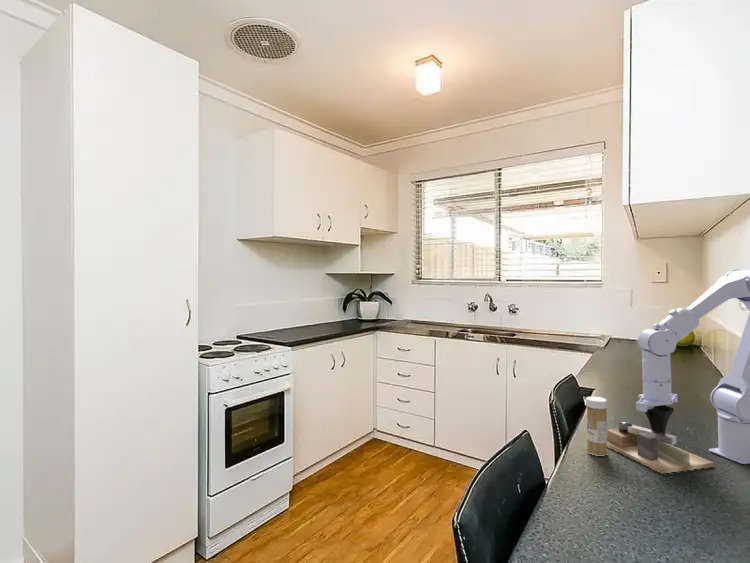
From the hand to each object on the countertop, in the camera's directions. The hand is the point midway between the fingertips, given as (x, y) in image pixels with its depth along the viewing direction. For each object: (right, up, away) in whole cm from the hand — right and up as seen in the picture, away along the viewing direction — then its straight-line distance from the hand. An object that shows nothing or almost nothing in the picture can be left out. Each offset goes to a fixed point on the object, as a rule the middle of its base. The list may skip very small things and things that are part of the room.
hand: (658, 436), depth 102 cm
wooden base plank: (-1, -4, 0) cm, 5 cm away
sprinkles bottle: (-14, -5, +1) cm, 15 cm away
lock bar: (-2, 0, +1) cm, 3 cm away
